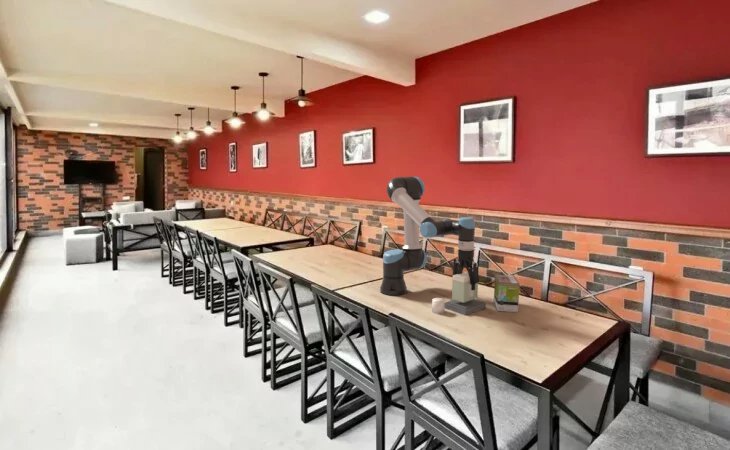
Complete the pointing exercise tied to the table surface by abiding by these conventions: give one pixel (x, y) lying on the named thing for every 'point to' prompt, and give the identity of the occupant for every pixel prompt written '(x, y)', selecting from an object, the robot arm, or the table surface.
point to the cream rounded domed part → (438, 305)
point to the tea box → (506, 293)
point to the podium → (465, 306)
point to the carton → (462, 287)
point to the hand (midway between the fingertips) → (464, 294)
